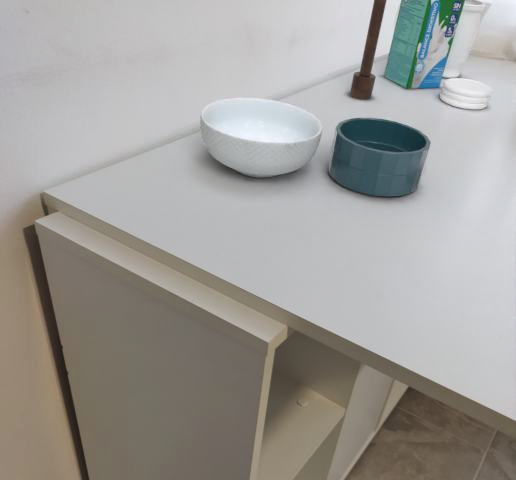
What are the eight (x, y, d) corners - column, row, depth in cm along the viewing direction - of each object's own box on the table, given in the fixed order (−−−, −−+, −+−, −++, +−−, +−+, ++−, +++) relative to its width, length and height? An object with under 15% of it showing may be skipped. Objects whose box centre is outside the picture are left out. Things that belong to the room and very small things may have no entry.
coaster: (432, 101, 111) (437, 83, 109) (447, 91, 118) (452, 74, 115) (479, 114, 108) (486, 95, 105) (492, 103, 114) (498, 85, 112)
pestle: (372, 95, 110) (399, -24, 97) (369, 101, 107) (396, -22, 94) (352, 91, 111) (375, -28, 98) (347, 96, 108) (371, -26, 94)
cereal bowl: (204, 191, 71) (205, 138, 66) (195, 142, 83) (196, 94, 78) (327, 193, 74) (336, 142, 69) (301, 146, 86) (308, 99, 81)
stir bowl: (421, 172, 83) (434, 129, 78) (411, 207, 73) (425, 161, 69) (338, 153, 85) (346, 111, 81) (318, 185, 75) (326, 140, 71)
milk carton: (406, 89, 116) (443, -54, 99) (383, 76, 122) (414, -60, 105) (439, 87, 119) (480, -51, 103) (415, 75, 125) (450, -58, 109)
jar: (461, 83, 124) (485, 8, 114) (417, 74, 126) (437, -1, 116) (465, 72, 132) (488, 1, 122) (423, 64, 134) (442, -7, 124)
